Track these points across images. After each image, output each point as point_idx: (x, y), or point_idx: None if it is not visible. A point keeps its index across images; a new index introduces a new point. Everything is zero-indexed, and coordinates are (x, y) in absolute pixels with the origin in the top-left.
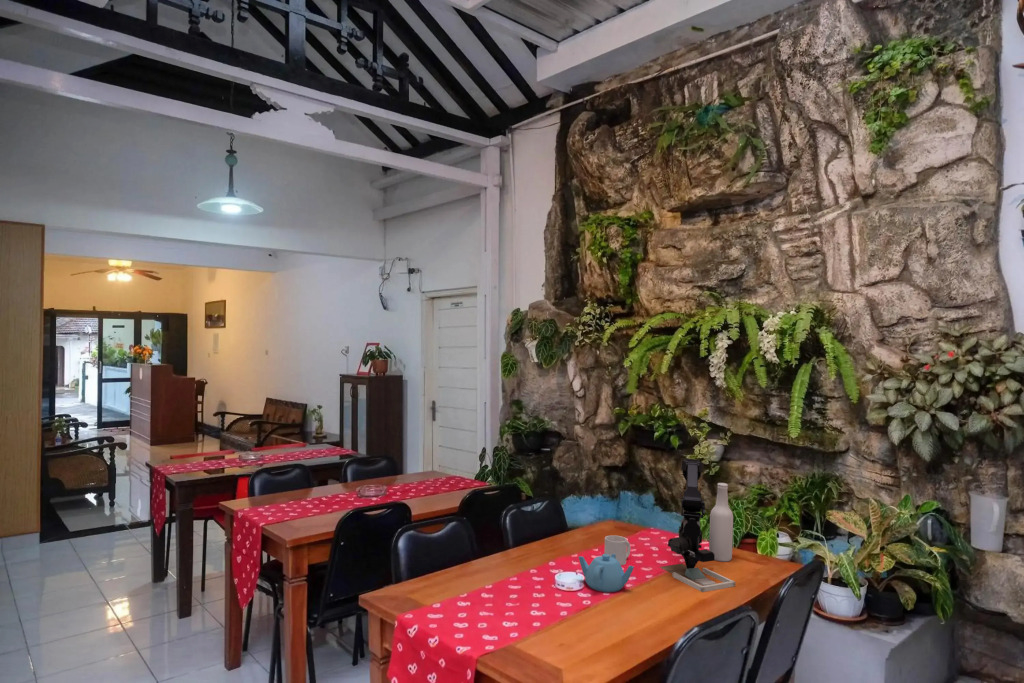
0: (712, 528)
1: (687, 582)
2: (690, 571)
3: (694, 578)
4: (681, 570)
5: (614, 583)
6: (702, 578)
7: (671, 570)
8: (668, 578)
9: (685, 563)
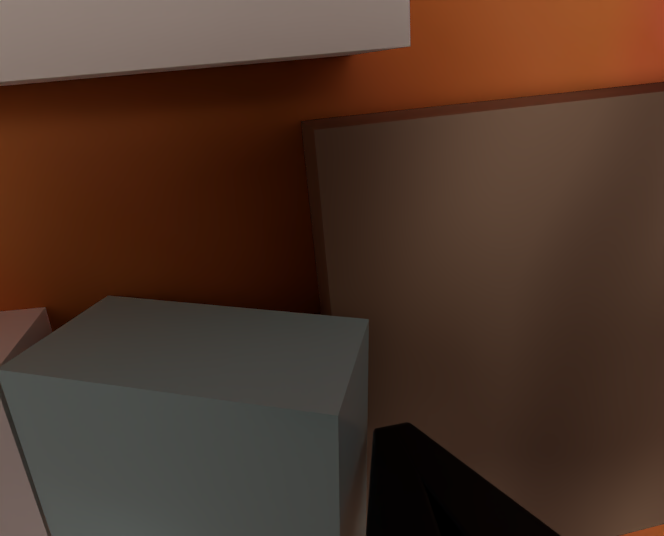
0: None
1: None
2: (229, 445)
3: (7, 377)
4: (574, 377)
5: None
6: (29, 530)
7: (659, 203)
8: (491, 4)
9: (553, 530)
